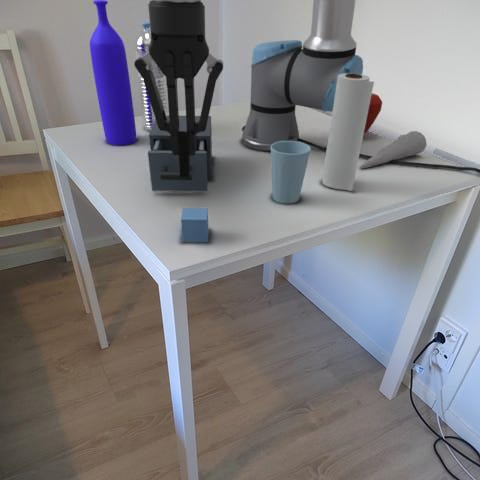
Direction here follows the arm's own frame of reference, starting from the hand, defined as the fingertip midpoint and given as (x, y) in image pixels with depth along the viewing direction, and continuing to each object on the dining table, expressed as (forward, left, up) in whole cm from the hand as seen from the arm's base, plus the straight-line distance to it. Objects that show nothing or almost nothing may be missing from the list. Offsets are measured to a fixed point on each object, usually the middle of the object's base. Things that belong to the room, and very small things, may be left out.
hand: (185, 174), depth 72 cm
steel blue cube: (-1, +3, -10) cm, 11 cm away
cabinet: (+3, -29, -10) cm, 31 cm away
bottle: (+21, -48, -10) cm, 53 cm away
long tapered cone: (-48, -34, -10) cm, 60 cm away
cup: (-19, -13, -10) cm, 25 cm away
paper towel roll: (-31, -20, -10) cm, 39 cm away
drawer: (+3, -18, -9) cm, 20 cm away
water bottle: (+13, -59, -10) cm, 61 cm away
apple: (-44, -55, -10) cm, 71 cm away
